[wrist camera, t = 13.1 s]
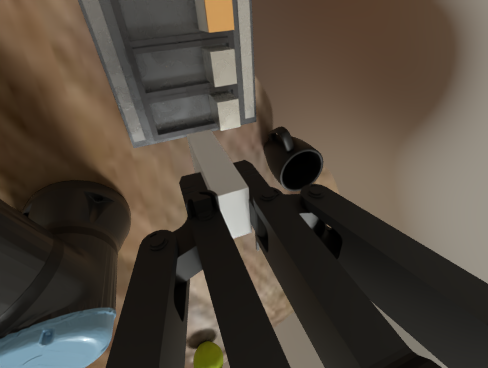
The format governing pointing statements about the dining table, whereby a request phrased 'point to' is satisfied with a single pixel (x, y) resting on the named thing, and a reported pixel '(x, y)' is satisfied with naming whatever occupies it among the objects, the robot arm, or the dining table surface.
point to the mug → (292, 160)
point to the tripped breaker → (214, 15)
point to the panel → (174, 67)
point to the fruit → (208, 356)
